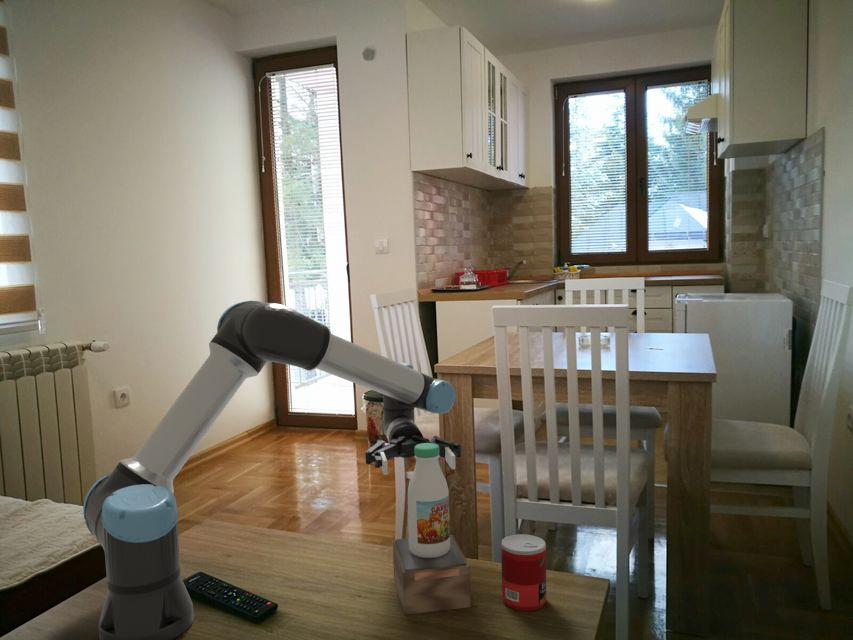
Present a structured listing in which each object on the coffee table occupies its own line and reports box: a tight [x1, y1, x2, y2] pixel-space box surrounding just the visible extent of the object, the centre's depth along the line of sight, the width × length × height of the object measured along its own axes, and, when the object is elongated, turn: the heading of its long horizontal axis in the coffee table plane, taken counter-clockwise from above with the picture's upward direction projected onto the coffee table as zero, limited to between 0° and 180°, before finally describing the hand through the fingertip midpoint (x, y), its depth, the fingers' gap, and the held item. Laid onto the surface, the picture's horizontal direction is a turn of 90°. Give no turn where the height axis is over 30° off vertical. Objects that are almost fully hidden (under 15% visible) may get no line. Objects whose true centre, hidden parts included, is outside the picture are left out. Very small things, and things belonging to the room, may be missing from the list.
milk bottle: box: [407, 443, 451, 558], centre depth 124 cm, size 8×8×20 cm
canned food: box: [500, 533, 547, 612], centre depth 121 cm, size 8×8×11 cm
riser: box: [392, 533, 472, 616], centre depth 125 cm, size 12×14×8 cm
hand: (419, 465), depth 132 cm, fingers open, 13 cm apart
